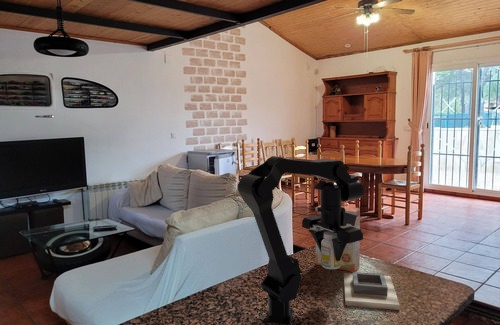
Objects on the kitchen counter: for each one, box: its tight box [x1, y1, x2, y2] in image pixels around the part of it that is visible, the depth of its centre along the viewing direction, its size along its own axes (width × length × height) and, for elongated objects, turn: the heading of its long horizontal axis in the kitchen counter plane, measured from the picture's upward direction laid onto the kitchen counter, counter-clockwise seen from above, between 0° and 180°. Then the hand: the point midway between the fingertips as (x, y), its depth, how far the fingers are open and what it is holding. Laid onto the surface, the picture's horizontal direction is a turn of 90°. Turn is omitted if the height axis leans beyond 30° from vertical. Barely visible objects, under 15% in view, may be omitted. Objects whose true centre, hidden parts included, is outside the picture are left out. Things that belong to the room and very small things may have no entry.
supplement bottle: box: [321, 231, 341, 270], centre depth 105 cm, size 5×5×10 cm
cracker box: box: [315, 204, 361, 273], centre depth 128 cm, size 14×6×21 cm, turn 58°
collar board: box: [343, 271, 401, 311], centre depth 109 cm, size 18×14×4 cm
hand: (330, 257), depth 106 cm, fingers closed on supplement bottle, 5 cm apart
